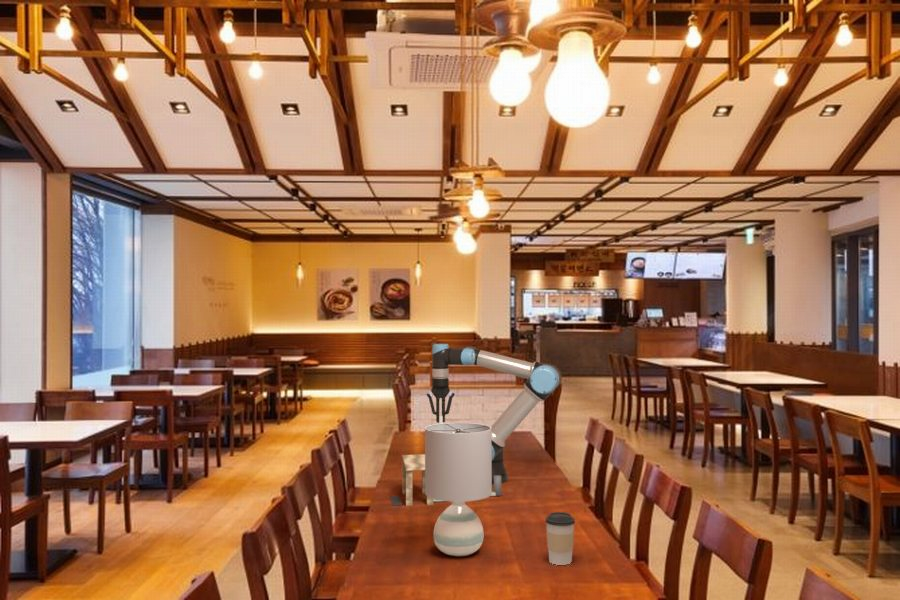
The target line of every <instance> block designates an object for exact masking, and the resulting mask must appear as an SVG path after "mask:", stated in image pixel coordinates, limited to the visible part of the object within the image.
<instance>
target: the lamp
mask: <svg viewBox="0 0 900 600" xmlns="http://www.w3.org/2000/svg"><path fill="white" fill-rule="evenodd" d="M424 454H425V496H426V497H427V496H428V497H430V498H432V499H436V500H441V501H440V502H451V504H450V505H448V507H446V508H445V509H444V510H443V511H442V512H441V513H440V515H439V516H438V518H437V520H436V521H435V524H434V527H433V528H434V529H433V541H434V545H435V546H436V548H437V549H438V550H439V551H440V552H442V553H443V554H445V555H446V556H447V555H448V556H451V557H466V556H470V555H473V554H474V553H476V552H477V551H478V550H479V549H480V548H481V546H482V544H483V542H484V526H483V524H482V521H481V519H480V518H479V516H478V515H477V514H476V512H475V511H474V510H473V509H472V508H470V507H469V506H468V504H466V502H475V501H476V502H477V501H480V500H484V499H487V498H489V497H491V496H490V495H491V494H492V491H493V490H492V489H493V488H492V485H493V483H492V450H491V426H489V425H488V424H482V423H475V422H443V423H441V424H439V423H434V424H430V425H427V426H425V427H424Z"/></svg>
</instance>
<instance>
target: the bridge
mask: <svg viewBox="0 0 900 600" xmlns="http://www.w3.org/2000/svg"><path fill="white" fill-rule="evenodd" d="M401 457H402V458H401V459H402V460H401V461H402V462H401V463H402V464H401V465H402V467H401V469H402V474H401V476H402V477H401V478H402V480H401V481H402V484H401V485H402V491H401V492H402V495H405V506H406V507H408V506H409V507H411V506H413V471H421V480H422V481H421V493H422V494H423V495H424V494H425V453H422V454H402V455H401ZM425 495H426V494H425ZM426 505H427V506H434V502H433V499H432V498H430V497H428V496H426Z"/></svg>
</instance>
